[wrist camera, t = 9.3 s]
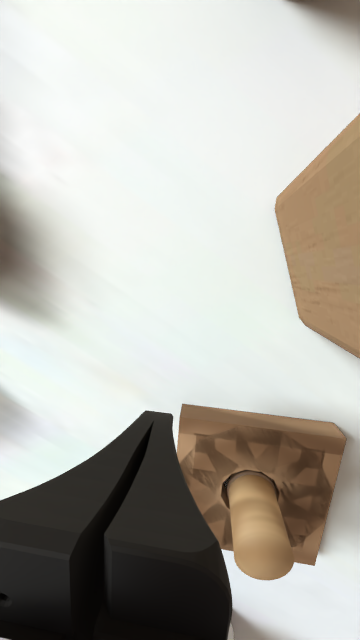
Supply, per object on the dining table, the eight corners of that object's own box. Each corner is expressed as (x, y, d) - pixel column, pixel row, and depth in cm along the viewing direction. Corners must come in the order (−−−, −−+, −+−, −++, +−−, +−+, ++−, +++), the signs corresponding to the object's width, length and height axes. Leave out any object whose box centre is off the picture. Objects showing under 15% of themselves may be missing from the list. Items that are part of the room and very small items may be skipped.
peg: (268, 491, 23) (293, 584, 16) (225, 488, 24) (232, 578, 17) (270, 454, 22) (297, 536, 16) (225, 452, 23) (232, 531, 16)
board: (305, 541, 24) (314, 565, 22) (173, 518, 25) (170, 539, 23) (333, 422, 21) (346, 438, 19) (182, 403, 22) (179, 417, 20)
